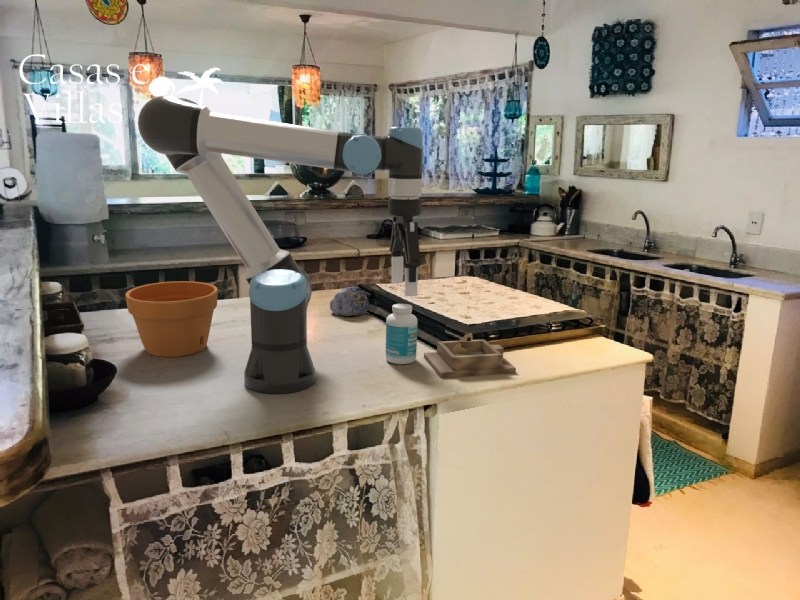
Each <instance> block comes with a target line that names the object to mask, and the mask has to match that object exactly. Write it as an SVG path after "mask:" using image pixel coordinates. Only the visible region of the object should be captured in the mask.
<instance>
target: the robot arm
mask: <svg viewBox="0 0 800 600" xmlns="http://www.w3.org/2000/svg"><path fill="white" fill-rule="evenodd" d="M137 126H138V127H137V128H138V131H139V134H140V136H141V139H142V141H144V144H146V145H147V146H148V147H149V148H150V149H151V150H153V151H154V152H157V153H158V154H161V155H165V157H166V159H167V160H168V162H169V163H170V165H171V166H172V168H174V170H175V172H176V173H178V174H183V175H186V176H187V178H188V179H189V181H190V183H191V184H192V186H193V187H194V189H195V190H196V191H197V193H198V194H199V196H200V198H201V199H202V201H203V202H204V204H205V205H206V207H207V209H208V210H209V213H211V215H212V217H213V218H214V219H215V221H216V222H217V224H218V226H219V227H220V229H221V230H222V233H224V235H225V237H226V238H227V240H228V241H229V243H230V244H231V246H232V247H233V249H234V251H235V252H236V254H237V255H238V257H239V259H240V260H241V262H242V263H243V265H244V266H245V267H246V272H245V277H244V278H245V280H246V282H247V283H248V285H249V288H248V296H249V301H250V302H249V303H250V307H249V309H250V333H251V336H250V337H251V349H250V352H249V355H248V359H247V361H246V366H245V369H244V373H243V374H244V376H243V377H244V378H243V380H244V386H246V387H247V388H248V389H250V390H251V391H255V392H258V393H264V394H288V393H295V392H299V391H302V390H305V389H307V388H310V387H311V386H312V385H314V383H315V382H316V368H315V366H314V363H313V360H312V357H311V354H310V351H309V348H308V337H307V336H308V333H307V332H308V330H307V329H308V328H307V325H308V323H307V313H308V306H309V303H310V302H311V297H312V294H313V293H312V292H313V291H312V288H313V287H312V285H311V284H312V283H311V279H310V277H309V275H308V274H307V273H306V271H305V270H304V269H303V268H302V267H300V266H299V265H298V263H297V262H296V260H295V258H294V257H293V256H292V254H291V253H290V251H288V250H284V249H281V248H280V247H279V245H278V244H277V243H276V241H275V239H274V238H273V236H272V234H271V233H270V231H269V230H268V228H267V227H266V225H265V223H264V221H263V220H262V219H261V217H260V216H259V214H258V212H257V211H256V209H255V207H254V206H253V204H252V202H251V201H250V200H249V198H248V196H247V195H246V193H245V191H244V190H243V188H242V187H241V184H240V183H239V181H238V180H237V179H236V176H234V174H233V172H232V170H231V169H230V167H229V165H228V164H227V162H226V161H225V159H224V158H223V156H222V154H224V155H230V156H231V155H232V156H237V157H239V156H240V157H245V158H252V159H260V160H266V161H275V162H279V163H280V162H281V163H286V164H287V163H288V164H295V165H300V166H301V165H302V166H311V167H317V168H324V169H330V170H331V169H332V170H337V171H343V172H349V173H350V172H351V173H353V174H357V175H368V174H370V173H372V172H373V171H384V172H385V171H388V182H387V184H388V186H387V188H388V190H387V191H388V193H387V194H388V196H389V198H388V201H387V202H388V207H387V210H388V214H389V215H390V216H392V229H391V236H390V242H389V252H390V254H391V284H404V297H417V296H418V277H419V276H418V273H419V271H418V270H419V269H418V268H419V267H421V266H422V262H421V253H420V252H421V251H420V243H419V242H420V241H419V233H418V229H419V228H418V227H419V224H418V221H414V217H417V216H419V217H420V216H421V215H422V209H423V208H422V205H423V203H422V202H423V201H422V198H420V197H421V196H422V189H423V187H424V186H425V183H424V182H423V156H424V148H423V147H424V146H423V145H424V144H423V143H424V142H423V131H422V129H421V128H420V127H418V126H417V127H416V126H391V127H389V130H388V135H368V134H362V133H359V134H358V133H351V132H346V131H345V132H343V131H342V132H341V131H338V130H330V129H325V128H318V127H310V126H306V125H297V124H291V123H286V122H277V121H273V120H265V119H258V118H252V117H245V116H237V115H231V114H224V113H218V112H212V111H211V110H210V109H209V107H207V106H206V105H200V104H198V103H197V102H196V101H193V100H191V99H187V98H182V97H176V96H172V95H160V96H156V97H154V98H152V99H150V100H149V101H147V102H146V103H145V104H144V105H143V106H142V108H141V109H140V112H139V113H138V118H137ZM404 258H405V263H404Z"/></svg>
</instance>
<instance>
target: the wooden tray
mask: <svg viewBox="0 0 800 600" xmlns="http://www.w3.org/2000/svg"><path fill="white" fill-rule="evenodd" d="M470 340H471V341H463V342H458V341H459V340H449V341H447V340H446V341H445V340H444V341H437V344H436V345H437V346H436V348H437V349H436V351H435V352H434V351H433V352H424V353H423V358H424V359H425V361H426V362H427V363H428V364H429V366H430V367H431V368H432V369H433V370H434V372H435V373H436V374H437V375H438V377H439V378H443V377H444V378H456V377H458V378H459V377H472V376H473V377H474V376H489V375H490V376H491V375H505V374H506V375H507V374H516V372H517V371H516V369H517V368H516V366H514V365H513V364H512V363H510V361H508V360H507V359H506V358H504V347H503V346H501V345H500V344H491V343H489V342H488V341H487V340H486V339H483V338H482V339H470ZM458 343H460V344H461V347H462V348H464V349H467V352H468V353H461V354H453V353H452V352H451V350H452V349H453V347H454V346H455V345H456V344H458Z"/></svg>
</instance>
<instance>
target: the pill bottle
mask: <svg viewBox="0 0 800 600" xmlns="http://www.w3.org/2000/svg"><path fill="white" fill-rule="evenodd" d="M391 308H392V309H391V310H392V313H390V314H388V316H387V317H386V320H385V321H386V323H385V324H386V325H385V360H386V361H387V362H389V363H391V364H394V365H409V364H412V363H414V362H415V361H416V360H417V350H418V349H417V347H418V343H417V342H418V318H417V317H416V316H415V315H414V314H412V312H413V305H412V304H408V303H396V304H395V303H394V304H393V305H392V307H391Z"/></svg>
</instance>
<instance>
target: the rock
mask: <svg viewBox="0 0 800 600" xmlns="http://www.w3.org/2000/svg"><path fill="white" fill-rule="evenodd" d="M369 305H370V301H369V297H368V295H367V293H366V291H365V290H362V288H361V287H360V286H358V285H357V286H356V285H355V286H350V287H344V288H342V289H341V290H339V292H337V293H335V295H334V297H333V298H332V299H331V300H330V302H329V310H330V311H331V312H332V313H333V314H334V315H336V316H344V317H346V316H347V317H351V316H361V315H364V314H366V313H367V312H368V310H369V309H370V307H369Z"/></svg>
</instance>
